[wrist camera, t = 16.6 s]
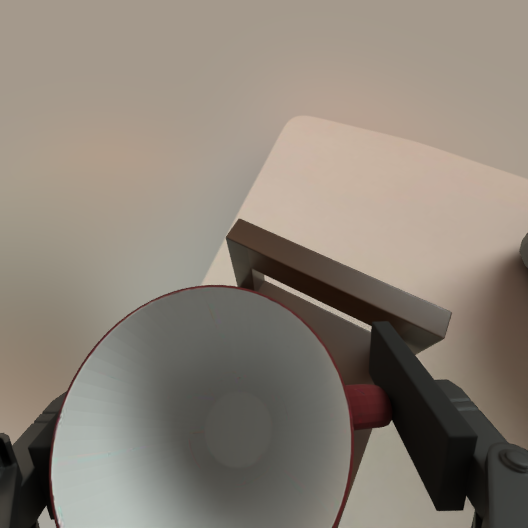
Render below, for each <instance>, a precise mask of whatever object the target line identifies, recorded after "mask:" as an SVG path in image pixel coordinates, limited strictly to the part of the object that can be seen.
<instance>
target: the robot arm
mask: <svg viewBox="0 0 528 528" xmlns="http://www.w3.org/2000/svg"><path fill="white" fill-rule="evenodd" d="M369 374H370V376H371V378H372V380H373V382H374V384H375V385H377V386H379V387H381V388H382V389H384V391H385V392H386V394H387V395H388V397H389V399H390V402H391V405H392V412H393V414H392V421H393V423H394V425H395V427H396V429H397V431H398V433H399V435H400V437H401V439H402V441H403V443H404V445H405V447H406V449H407V451H408V453H409V455H410V457H411V459H412V461H413V463H414V465H415V467H416V469H417V471H418V474H419V476H420V478H421V480H422V482H423V484H424V486H425V488H426V490H427V492H428V494H429V496H430V498H431V500H432V502H433V504H434V506H435V508H436V510H437V511H459V510H463V509H464V504H465V499H466V496H467V497H468V499H469V501H470V502H471V504H472V506H473V507H474V509H475V512H474V517H473V522H472V526H471V528H528V451H527V450H526V449H523V448H521V447H519V446H517V445H514V444H510V443H508V442H507V441H506V440H505V438H504V437H503V436H502V435H501V434H500V433H499V432H498V430H497V429H496V428H495V427H494V426H493V425H492V423H491V422H490V421H489V420H488V419H487V418H486V417H485V415H484V414H483V413H482V412H481V411H480V410H478V407H477V406H476V405H475V404H474V403H473V402H472V401H471V400H470V398H469V397H468V396H467V395H466V394H465V392H464V391H463V390H462V389H461V388H459V387H458V386H456V385H455V384H453V383H452V382H450V381H449V380H434V379H433V378H432V376H431V375H430V374H429V373H428V371H427V370H426V369H425V367H424V366H423V365H422V364H421V362H420V361H419V360H418V359H417V357H416V356H415V355H414V353H413V352H412V351H411V350H410V348H409V347H408V346H407V344H406V343H405V342H404V341H403V339H402V338H401V337H400V335H399V334H398V333H397V332H396V330H395V329H394V328H393V326H392V325H391V324H390V323H389V321H383V322H372V329H371V344H370V358H369ZM66 392H67V391H66ZM66 392H65V393H63V394H62V395H60V396H59V397H58V398H56V399H55V400H53V401H52V402H51V403H50V405H49V406H48V407H47V408H46V409H45V410H44V411H43V413H42V414H40V415H39V417H38V418H37V419H36V420H35V421H34V424H31V425H30V427H29V428H28V429H27V430H26V431H25V432H24V433H23V434H22V435H21V437H20V438H19V439H18V440H17V441H16V442H15V443H14V444H13V445H12V444H11V441H10V438H9V436H8V435H6V434H4V433H0V528H39V523H38V520H37V519H38V517H39V516H40V514H41V513H42V511H43V509H44V508H45V507H46V506H47V509H48V512H49V515H50V518H51V520H52V519H54V516H53V512H52V505H51V499H50V487H49V460H50V451H51V443H52V438H53V433H54V428H55V424H56V421H57V417H58V414H59V410H60V408H61V405H62V402H63V400H64V397H65V395H66Z"/></svg>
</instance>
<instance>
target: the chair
mask: <svg viewBox="0 0 528 528" xmlns="http://www.w3.org/2000/svg"><path fill="white" fill-rule="evenodd" d="M226 241H227V245H228V249H229V253H230V257H231V261H232V265H233V269H234V273H235V277H236V281H237V285H238V287H240V288H245V289H249V290H252V291H256V292H259V293H261V294H264V295H266V296H269V297H271V298H273V299H275V300H277V301H278V302H280V303H282V304H283V305H285V306H287V307H288V308H290V309H291V310H292V311H294V312H295V313H296V314H297V315H299V316H300V317H301V318H302V319H303V320H304V321H305V322H306V323H307V324H308V325H310V327H311V328H312V329H313V330H314V331H315V332H316V333H317V335H318V336H319V337H320V338H321V340H322V341H323V343H324V344H325V345H326V347H327V348H328V350H329V352H330V353H331V355H332V357H333V358H334V360H335V363H336V365H337V367H338V369H339V371H340V373H341V376H342V379H343V381H344V384H345V385H356V384H368V385H375V384H374V382H373V380H372V378H371V376H370V374H369V358H370V344H371V332H370V331H368V330H366V329H363V328H361V327H359V326H357V325H355V324H353V323H351V322H349V321H347V320H345V319H343V318H341V317H339V316H337V315H335V314H333V313H331V312H329V311H326V310H324V309H322V308H320V307H318V306H316V305H314V304H312V303H310V302H308V301H306V300H304V299H302V298H300V297H298V296H296V295H294V294H291V293H289V292H287V291H285V290H283V289H281V288H279V287H277V286H275V285H273V284H271V283H269V282H267V281H265V280H264V275H266V276H268V277H270V278H273V279H275V280H277V281H279V282H281V283H283V284H285V285H287V286H289V287H291V288H293V289H295V290H297V291H300V292H302V293H304V294H306V295H308V296H310V297H312V298H314V299H316V300H318V301H320V302H322V303H324V304H327V305H329V306H331V307H333V308H335V309H337V310H339V311H341V312H343V313H345V314H347V315H349V316H352V317H354V318H356V319H358V320H360V321H362V322H364V323H366V324H368V325H370V326H372V322H383V321H389V323H390V324H391V325H392V326H393V328H394V329H395V330H396V332H397V333H398V334H399V335H400V337H401V338H402V339H403V341H404V342H405V343H406V344H407V346H408V347H409V348H410V350H411V351H412V352H413V353H414V355H416V354H418V353H419V352H421V351H423V350H425V349H427V348H428V347H430V346H432V345H434V344H436V343H438V342H439V341H441V340H443V339H444V338H445V335H446V331H447V328H448V325H449V321H450V318H451V314H452V312H450V311H448V310H446V309H443V308H441V307H439V306H436V305H434V304H432V303H430V302H427V301H425V300H423V299H420V298H418V297H416V296H414V295H411V294H409V293H407V292H404V291H402V290H400V289H398V288H395V287H393V286H391V285H389V284H386V283H384V282H382V281H380V280H377V279H375V278H373V277H371V276H368V275H366V274H364V273H362V272H359V271H357V270H355V269H352V268H350V267H348V266H346V265H343V264H341V263H339V262H337V261H334V260H332V259H330V258H328V257H325V256H323V255H321V254H319V253H316V252H314V251H312V250H310V249H307V248H305V247H303V246H300V245H298V244H296V243H294V242H291V241H289V240H287V239H285V238H282V237H280V236H278V235H276V234H273V233H271V232H269V231H267V230H264V229H262V228H260V227H258V226H255V225H253V224H251V223H249V222H246V221H244V220H242V219H238V220H237V222H236V223H235V225H234V226H233V228H232V229H231V230H230V232H229V233H228V235H227V236H226ZM371 431H372V429H363V430H355V431H354V458H353V470H352V475H351V481H350V487H349V491H348V494H347V498H346V502H347V500H348V497H349V494H350V491H351V488H352V485H353V482H354V480H355V477H356V474H357V471H358V468H359V465H360V463H361V460H362V457H363V454H364V451H365V448H366V445H367V443H368V440H369V437H370V434H371ZM346 502H345V505H346ZM344 508H345V506H344ZM344 508H343V511H344ZM343 511H342V514H343ZM342 514H341V516H340V519H341V517H342ZM340 519H339V522H340ZM339 522H338V524H337V526H336V528H338V525H339Z"/></svg>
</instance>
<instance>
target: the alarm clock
mask: <svg viewBox="0 0 528 528" xmlns="http://www.w3.org/2000/svg"><path fill="white" fill-rule="evenodd" d="M520 254H521V257H522V259H523V262H524V264H525V265H526V267H527V268H528V233H527V234H526V236H525V237H524V239H523V240H522V243H521V247H520Z"/></svg>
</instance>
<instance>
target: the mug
mask: <svg viewBox="0 0 528 528" xmlns="http://www.w3.org/2000/svg"><path fill="white" fill-rule="evenodd" d="M392 414H393V412H392V405H391V402H390V399H389V397H388V395H387V394H386V392H385V391H384V389H382V388H381V387H379V386H377V385H368V384H356V385H345V384H344V381H343V379H342V376H341V373H340V371H339V369H338V367H337V365H336V363H335V360H334V358H333V357H332V355H331V353H330V352H329V350H328V348H327V347H326V345H325V344H324V343H323V341H322V340H321V338H320V337H319V336H318V335H317V333H316V332H315V331H314V330H313V329H312V328H311V327H310V325H308V324H307V323H306V322H305V321H304V320H303V319H302V318H301V317H300V316H299V315H297V314H296V313H295V312H294V311H292V310H291V309H290V308H288V307H287V306H285V305H283V304H282V303H280V302H278V301H277V300H275V299H273V298H271V297H269V296H266V295H264V294H261V293H259V292H256V291H252V290H249V289H245V288H240V287H235V286H226V285H205V286H196V287H190V288H186V289H181V290H177V291H174V292H171V293H168V294H165V295H163V296H160V297H158V298H156V299H154V300H151V301H150V302H148V303H146V304H144V305H142V306H140V307H139V308H137V309H136V310H135V311H133V312H131V313H130V314H128V315H127V316H126V317H125V318H124V319H122V320H121V321H119V322H118V323H117V324H116V325H115V326H114V327H113V328H112V329H110V330H109V331H108V332H107V333H106V335H104V337H103V338H102V339H101V340H100V341H99V342H98V343H97V344H96V346H95V347H94V348H93V349H92V350H91V352H90V353H89V354H88V356H87V357H86V359H85V360H84V362H83V363H82V365H81V366H80V368H79V370H78V371H77V373H76V375H75V376H74V378H73V380H72V382H71V384H70V386H69V388H68V390H67V392H66V395H65V397H64V400H63V402H62V405H61V408H60V410H59V414H58V417H57V421H56V424H55V428H54V433H53V438H52V443H51V451H50V460H49V487H50V499H51V505H52V512H53V516H54V520H55V524H56V528H336V526H337V524H338V522H339V519H340V516H341V514H342V511H343V508H344V506H345V502H346V498H347V494H348V491H349V487H350V481H351V475H352V470H353V458H354V431H355V430H363V429H372V428H379V427H384V426H387V425H389V423H390V422H391V420H392Z"/></svg>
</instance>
